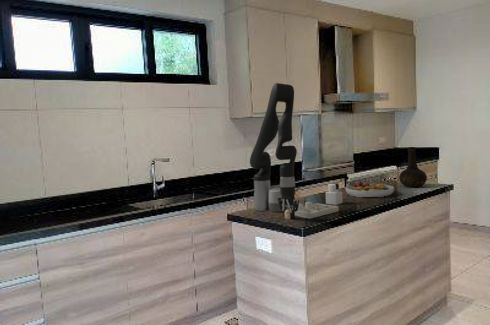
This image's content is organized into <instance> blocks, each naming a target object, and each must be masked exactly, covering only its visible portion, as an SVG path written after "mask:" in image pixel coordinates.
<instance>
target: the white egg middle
mask: <svg viewBox="0 0 490 325" xmlns="http://www.w3.org/2000/svg"><path fill="white" fill-rule="evenodd" d="M313 204H314V203H313V202H312V201H305V203H304V206H305V208H307V209H311V208H313Z"/></svg>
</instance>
